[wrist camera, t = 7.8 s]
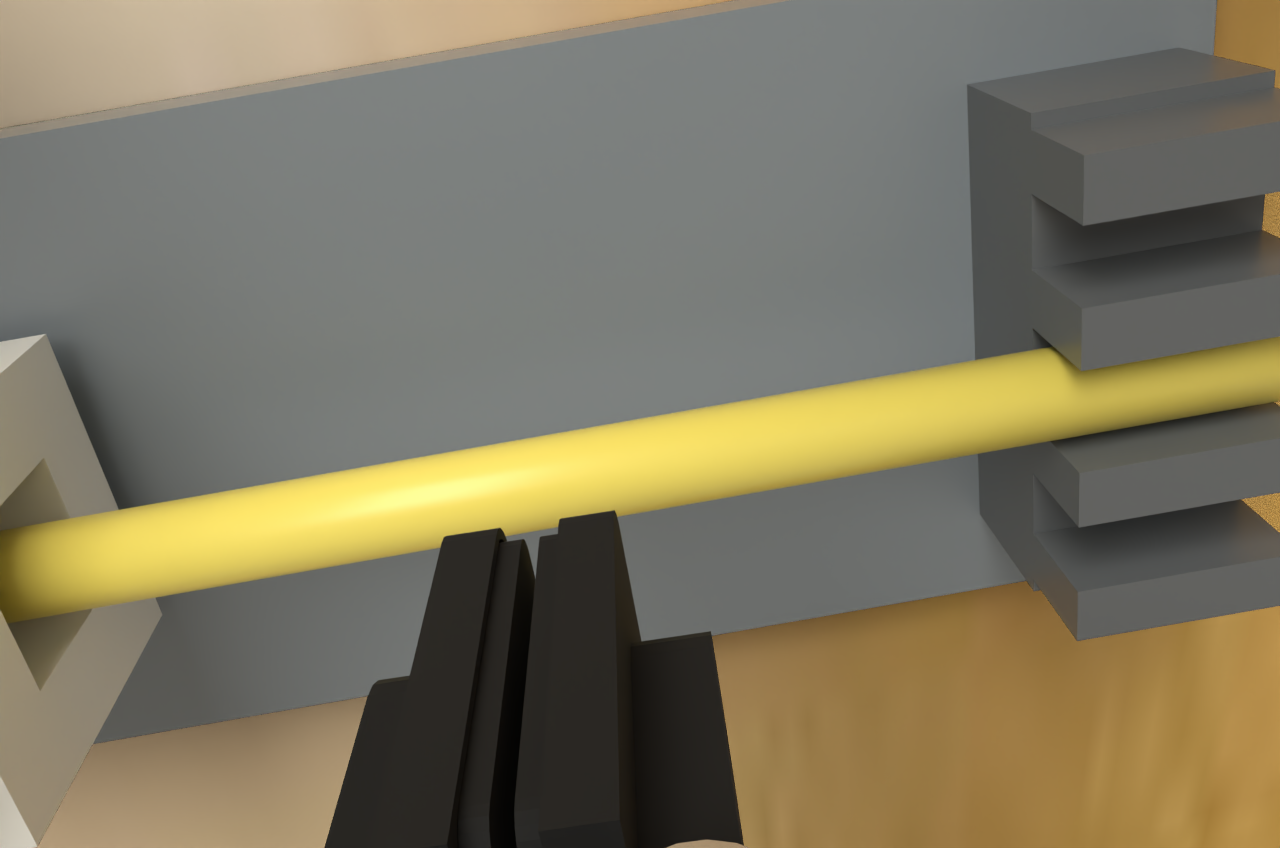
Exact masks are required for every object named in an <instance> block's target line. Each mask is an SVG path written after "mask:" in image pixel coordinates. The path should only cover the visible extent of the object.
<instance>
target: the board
mask: <svg viewBox="0 0 1280 848" xmlns="http://www.w3.org/2000/svg"><path fill="white" fill-rule="evenodd" d="M1216 7H1217V0H733V1H728V2H722V3H716V4H710V5H705V6H699V7H693V8H688V9H682V10H676V11H670V12H665V13H659V14H653V15H648V16H642V17H636V18H630V19H625V20H619V21H613V22H608V23H602V24H596V25H590V26H585V27H579V28H573V29H568V30H562V31H556V32H550V33H545V34H539V35H533V36H528V37H522V38H516V39H510V40H505V41H499V42H493V43H488V44H482V45H476V46H470V47H465V48H459V49H453V50H447V51H442V52H436V53H430V54H425V55H419V56H413V57H407V58H402V59H396V60H390V61H385V62H379V63H373V64H367V65H362V66H356V67H350V68H345V69H339V70H333V71H327V72H322V73H316V74H310V75H305V76H299V77H293V78H287V79H282V80H276V81H270V82H265V83H259V84H253V85H247V86H242V87H236V88H230V89H225V90H219V91H213V92H207V93H202V94H196V95H190V96H184V97H179V98H173V99H167V100H162V101H156V102H150V103H144V104H139V105H133V106H127V107H122V108H116V109H110V110H104V111H99V112H93V113H87V114H82V115H76V116H70V117H64V118H59V119H53V120H47V121H42V122H36V123H30V124H24V125H19V126H13V127H7V128H2V129H0V342H2V341H8V340H14V339H19V338H25V337H31V336H36V335H42V334H46V335H47V338H48V340H49V342H50V345H51V347H52V350H53V352H54V354H55V357H56V359H57V362H58V364H59V367H60V369H61V371H62V374H63V376H64V379H65V381H66V383H67V386H68V388H69V391H70V393H71V395H72V398H73V400H74V403H75V405H76V408H77V410H78V412H79V415H80V417H81V420H82V422H83V424H84V427H85V429H86V432H87V434H88V437H89V439H90V441H91V444H92V446H93V449H94V451H95V453H96V456H97V458H98V461H99V463H100V465H101V468H102V470H103V473H104V475H105V478H106V480H107V482H108V485H109V487H110V490H111V492H112V494H113V497H114V499H115V502H116V504H117V506H118V509H119V510H121V509H126V508H132V507H138V506H143V505H149V504H155V503H161V502H166V501H172V500H178V499H183V498H189V497H195V496H201V495H206V494H212V493H218V492H224V491H229V490H235V489H241V488H246V487H252V486H258V485H264V484H269V483H275V482H281V481H286V480H292V479H298V478H304V477H309V476H315V475H321V474H326V473H332V472H338V471H344V470H349V469H355V468H361V467H367V466H372V465H378V464H384V463H389V462H395V461H401V460H407V459H412V458H418V457H424V456H429V455H435V454H441V453H447V452H452V451H458V450H464V449H469V448H475V447H481V446H487V445H492V444H498V443H504V442H509V441H515V440H521V439H527V438H532V437H538V436H544V435H550V434H555V433H561V432H567V431H572V430H578V429H584V428H590V427H595V426H601V425H607V424H612V423H618V422H624V421H630V420H635V419H641V418H647V417H652V416H658V415H664V414H670V413H675V412H681V411H687V410H692V409H698V408H704V407H710V406H715V405H721V404H727V403H733V402H738V401H744V400H750V399H755V398H761V397H767V396H773V395H778V394H784V393H790V392H795V391H801V390H807V389H813V388H818V387H824V386H830V385H835V384H841V383H847V382H853V381H858V380H864V379H870V378H875V377H881V376H887V375H893V374H898V373H904V372H910V371H916V370H921V369H927V368H933V367H938V366H944V365H950V364H956V363H961V362H967V361H973V360H978V359H984V358H990V357H996V356H1001V355H1007V354H1013V353H1018V352H1024V351H1030V350H1036V349H1041V348H1047V347H1054V348H1056V349H1057V350H1058V351H1059V352H1060V353H1061V354H1062V355H1063V356H1065V357H1066V358H1067V359H1068V360H1069V361H1070V362H1071V363H1072V364H1074V365H1075V366H1076V367H1077V368H1078V369H1079V370H1080V371H1085V370H1091V369H1097V368H1102V367H1108V366H1114V365H1119V364H1125V363H1131V362H1137V361H1142V360H1148V359H1154V358H1159V357H1165V356H1171V355H1177V354H1182V353H1188V352H1194V351H1199V350H1205V349H1211V348H1217V347H1222V346H1228V345H1234V344H1240V343H1245V342H1251V341H1257V340H1262V339H1268V338H1274V337H1280V238H1278V237H1276V236H1274V235H1272V234H1270V233H1267V232H1265V231H1263V230H1262V223H1263V211H1264V199H1265V194H1268V193H1274V192H1280V89H1279V88H1275V87H1274V82H1275V71H1276V70H1272V69H1267V68H1263V67H1259V66H1255V65H1251V64H1247V63H1242V62H1238V61H1234V60H1230V59H1226V58H1221V57H1217V56H1213V55H1214V39H1215V23H1216ZM1274 493H1280V406H1279V405H1277V404H1276V403H1274V402H1271V403H1266V404H1260V405H1254V406H1248V407H1243V408H1237V409H1231V410H1226V411H1220V412H1214V413H1208V414H1203V415H1197V416H1191V417H1186V418H1180V419H1174V420H1168V421H1163V422H1157V423H1151V424H1146V425H1140V426H1134V427H1128V428H1123V429H1117V430H1111V431H1105V432H1100V433H1094V434H1088V435H1083V436H1077V437H1071V438H1065V439H1060V440H1054V441H1048V442H1043V443H1037V444H1031V445H1025V446H1020V447H1014V448H1008V449H1003V450H997V451H991V452H985V453H980V454H974V455H968V456H962V457H957V458H951V459H945V460H940V461H934V462H928V463H922V464H917V465H911V466H905V467H900V468H894V469H888V470H882V471H877V472H871V473H865V474H860V475H854V476H848V477H842V478H837V479H831V480H825V481H819V482H814V483H808V484H802V485H797V486H791V487H785V488H779V489H774V490H768V491H762V492H757V493H751V494H745V495H739V496H734V497H728V498H722V499H717V500H711V501H705V502H699V503H694V504H688V505H682V506H677V507H671V508H665V509H659V510H654V511H648V512H642V513H636V514H631V515H625V516H619V517H617V518H618V522H619V527H620V532H621V537H622V543H623V548H624V553H625V558H626V563H627V568H628V574H629V579H630V584H631V589H632V594H633V600H634V605H635V610H636V615H637V620H638V626H639V631H640V636H641V641H648V640H654V639H661V638H668V637H675V636H682V635H688V634H695V633H702V632H709V631H711V635H712V636H714V635H719V634H725V633H731V632H737V631H742V630H748V629H754V628H760V627H765V626H771V625H777V624H782V623H788V622H794V621H800V620H805V619H811V618H817V617H822V616H828V615H834V614H840V613H845V612H851V611H857V610H862V609H868V608H874V607H880V606H885V605H891V604H897V603H903V602H908V601H914V600H920V599H925V598H931V597H937V596H943V595H948V594H954V593H960V592H965V591H971V590H977V589H983V588H988V587H994V586H1000V585H1005V584H1011V583H1017V582H1023V581H1027V582H1028V584H1029V585H1030V586H1031V588H1032V589H1033V591H1038V590H1041V591H1042V592H1043V594H1044V595H1045V597H1046V598H1047V599H1048V601H1049V602H1050V604H1051V605H1052V606H1053V608H1054V609H1055V611H1056V612H1057V613H1058V615H1059V616H1060V618H1061V619H1062V620H1063V622H1064V623H1065V625H1066V626H1067V627H1068V629H1069V630H1070V632H1071V633H1072V634H1073V636H1074V637H1075V639H1076V640H1077V641H1080V640H1086V639H1092V638H1097V637H1103V636H1109V635H1115V634H1120V633H1126V632H1132V631H1138V630H1143V629H1149V628H1155V627H1160V626H1166V625H1172V624H1178V623H1183V622H1189V621H1195V620H1200V619H1206V618H1212V617H1218V616H1223V615H1229V614H1235V613H1240V612H1246V611H1252V610H1258V609H1263V608H1269V607H1275V606H1280V533H1279V532H1278V531H1276V530H1275V529H1274V528H1273V527H1272V526H1271V525H1270V524H1268V523H1267V522H1266V521H1265V520H1264V519H1263V518H1262V517H1260V516H1259V515H1258V514H1257V513H1256V512H1255V511H1253V510H1252V509H1251V508H1250V507H1249V506H1248V505H1247V504H1245V503H1244V502H1243V501H1242V500H1241V499H1245V498H1251V497H1257V496H1262V495H1268V494H1274ZM553 534H558V527H556V528H551V529H545V530H539V531H534V532H528V533H522V534H516V535H511V536H506V539H507V541H514V540H520V539H524V540H525V541H526V544H527V546H528V550H529V554H530V558H531V562H532V566H533V571H534V575H535V579H536V568H537V558H538V547H539V539H540V537H541V536H547V535H553ZM439 552H440V548H436V549H431V550H425V551H419V552H413V553H408V554H402V555H396V556H391V557H385V558H379V559H373V560H368V561H362V562H356V563H351V564H345V565H339V566H333V567H328V568H322V569H316V570H310V571H305V572H299V573H293V574H288V575H282V576H276V577H270V578H265V579H259V580H253V581H248V582H242V583H236V584H230V585H225V586H219V587H213V588H208V589H202V590H196V591H190V592H185V593H179V594H173V595H167V596H162V597H156V601H157V603H158V605H159V608H160V610H161V613H162V616H161V618H160V620H159V622H158V624H157V625H156V627H155V629H154V631H153V633H152V635H151V637H150V639H149V640H148V642H147V644H146V646H145V648H144V650H143V652H142V653H141V655H140V657H139V659H138V661H137V663H136V665H135V666H134V668H133V670H132V672H131V674H130V676H129V678H128V679H127V681H126V683H125V685H124V687H123V689H122V691H121V692H120V694H119V696H118V698H117V700H116V702H115V704H114V706H113V707H112V709H111V711H110V713H109V715H108V717H107V719H106V720H105V722H104V724H103V726H102V728H101V730H100V732H99V733H98V735H97V737H96V739H95V741H94V743H93V744H96V743H102V742H107V741H113V740H119V739H125V738H130V737H136V736H142V735H147V734H153V733H159V732H165V731H170V730H176V729H182V728H188V727H193V726H199V725H205V724H210V723H216V722H222V721H228V720H233V719H239V718H245V717H250V716H256V715H262V714H268V713H273V712H279V711H285V710H290V709H296V708H302V707H308V706H313V705H319V704H325V703H331V702H336V701H342V700H348V699H353V698H359V697H365V696H368V695H369V692H370V690H371V688H372V685H373V684H374V683H376V682H377V681H378V680H383V679H390V678H396V677H403V676H410V672H411V668H412V664H413V660H414V656H415V652H416V647H417V643H418V639H419V635H420V631H421V627H422V622H423V618H424V614H425V610H426V606H427V602H428V597H429V593H430V589H431V585H432V581H433V577H434V573H435V568H436V564H437V560H438V556H439Z"/></svg>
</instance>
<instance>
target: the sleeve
mask: <svg viewBox="0 0 1280 848" xmlns="http://www.w3.org/2000/svg"><path fill="white" fill-rule="evenodd" d="M115 510H119V509H118V506H117V504H116V502H115V499H114V497H113V494H112V492H111V490H110V487H109V485H108V482H107V480H106V478H105V475H104V473H103V470H102V468H101V465H100V463H99V461H98V458H97V456H96V453H95V451H94V449H93V446H92V444H91V441H90V439H89V437H88V434H87V432H86V429H85V427H84V424H83V422H82V420H81V417H80V415H79V412H78V410H77V408H76V405H75V403H74V400H73V398H72V395H71V393H70V391H69V388H68V386H67V383H66V381H65V379H64V376H63V374H62V371H61V369H60V367H59V364H58V362H57V359H56V357H55V354H54V352H53V350H52V347H51V345H50V342H49V340H48V338H47V335H46V334H42V335H36V336H31V337H25V338H19V339H14V340H8V341H2V342H0V530H6V529H12V528H18V527H23V526H29V525H35V524H41V523H46V522H52V521H58V520H63V519H69V518H75V517H81V516H86V515H92V514H98V513H103V512H109V511H115ZM161 616H162V613H161V610H160V608H159V605H158V603H157V601H156V598H150V599H145V600H139V601H133V602H127V603H122V604H116V605H110V606H105V607H99V608H93V609H87V610H82V611H76V612H70V613H65V614H59V615H53V616H47V617H42V618H36V619H30V620H24V621H19V622H13V623H7V622H6V620H5V618H4V616H3V614H2V612H1V610H0V848H33V847H38V845H39V843H40V841H41V840H42V838H43V836H44V834H45V832H46V830H47V828H48V826H49V825H50V823H51V821H52V819H53V817H54V815H55V813H56V812H57V810H58V808H59V806H60V804H61V802H62V800H63V799H64V797H65V795H66V793H67V791H68V789H69V787H70V786H71V784H72V782H73V780H74V778H75V776H76V774H77V773H78V771H79V769H80V767H81V765H82V763H83V761H84V759H85V758H86V756H87V754H88V752H89V750H90V748H91V746H92V745H93V743H94V741H95V739H96V737H97V735H98V733H99V732H100V730H101V728H102V726H103V724H104V722H105V720H106V719H107V717H108V715H109V713H110V711H111V709H112V707H113V706H114V704H115V702H116V700H117V698H118V696H119V694H120V692H121V691H122V689H123V687H124V685H125V683H126V681H127V679H128V678H129V676H130V674H131V672H132V670H133V668H134V666H135V665H136V663H137V661H138V659H139V657H140V655H141V653H142V652H143V650H144V648H145V646H146V644H147V642H148V640H149V639H150V637H151V635H152V633H153V631H154V629H155V627H156V625H157V624H158V622H159V620H160V618H161Z"/></svg>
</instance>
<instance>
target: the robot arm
mask: <svg viewBox="0 0 1280 848" xmlns="http://www.w3.org/2000/svg"><path fill="white" fill-rule="evenodd" d="M325 848H748V847H746V846H744V843H743V836H742V830H741V823H740V816H739V809H738V803H737V796H736V789H735V782H734V776H733V769H732V763H731V756H730V749H729V743H728V736H727V730H726V723H725V717H724V710H723V704H722V698H721V691H720V685H719V679H718V672H717V666H716V660H715V653H714V647H713V641H712V635H711V631H709V632H702V633H695V634H688V635H682V636H675V637H668V638H661V639H654V640H648V641H641V636H640V631H639V626H638V620H637V615H636V610H635V605H634V600H633V594H632V589H631V584H630V579H629V574H628V568H627V563H626V558H625V553H624V548H623V543H622V537H621V532H620V527H619V522H618V518H617V515H616V512H615V510H613V511H607V512H600V513H594V514H587V515H581V516H574V517H567V518H561V519H559V524H558V534H553V535H547V536H541V537H540V539H539V547H538V558H537V568H536V579H535V575H534V571H533V566H532V562H531V558H530V554H529V550H528V546H527V544H526V541H525V540H524V539H520V540H514V541H507V539H506V536H505V534H504V532H503V530H502V529H501V528H495V529H489V530H482V531H475V532H469V533H462V534H456V535H449V536H445V537H444V538H443V541H442V543H441V548H440V552H439V556H438V560H437V564H436V568H435V573H434V577H433V581H432V585H431V589H430V593H429V597H428V602H427V606H426V610H425V614H424V618H423V622H422V627H421V631H420V635H419V639H418V643H417V647H416V652H415V656H414V660H413V664H412V668H411V672H410V676H403V677H396V678H390V679H383V680H378V681H377V682H376V683H374V684H373V685H372V688H371V690H370V692H369V695H368V698H367V701H366V705H365V708H364V712H363V715H362V718H361V722H360V725H359V729H358V732H357V736H356V739H355V743H354V746H353V750H352V753H351V757H350V760H349V764H348V767H347V771H346V774H345V778H344V781H343V785H342V788H341V792H340V795H339V799H338V802H337V806H336V809H335V813H334V816H333V820H332V823H331V827H330V830H329V834H328V837H327V841H326V844H325Z"/></svg>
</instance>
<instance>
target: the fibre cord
mask: <svg viewBox="0 0 1280 848" xmlns="http://www.w3.org/2000/svg"><path fill="white" fill-rule="evenodd" d="M1277 401H1280V337H1274V338H1268V339H1262V340H1257V341H1251V342H1245V343H1240V344H1234V345H1228V346H1222V347H1217V348H1211V349H1205V350H1199V351H1194V352H1188V353H1182V354H1177V355H1171V356H1165V357H1159V358H1154V359H1148V360H1142V361H1137V362H1131V363H1125V364H1119V365H1114V366H1108V367H1102V368H1097V369H1091V370H1085V371H1080V370H1079V369H1078V368H1077V367H1076V366H1075V365H1074V364H1072V363H1071V362H1070V361H1069V360H1068V359H1067V358H1066V357H1065V356H1063V355H1062V354H1061V353H1060V352H1059V351H1058V350H1057V349H1056V348H1054V347H1047V348H1041V349H1036V350H1030V351H1024V352H1018V353H1013V354H1007V355H1001V356H996V357H990V358H984V359H978V360H973V361H967V362H961V363H956V364H950V365H944V366H938V367H933V368H927V369H921V370H916V371H910V372H904V373H898V374H893V375H887V376H881V377H875V378H870V379H864V380H858V381H853V382H847V383H841V384H835V385H830V386H824V387H818V388H813V389H807V390H801V391H795V392H790V393H784V394H778V395H773V396H767V397H761V398H755V399H750V400H744V401H738V402H733V403H727V404H721V405H715V406H710V407H704V408H698V409H692V410H687V411H681V412H675V413H670V414H664V415H658V416H652V417H647V418H641V419H635V420H630V421H624V422H618V423H612V424H607V425H601V426H595V427H590V428H584V429H578V430H572V431H567V432H561V433H555V434H550V435H544V436H538V437H532V438H527V439H521V440H515V441H509V442H504V443H498V444H492V445H487V446H481V447H475V448H469V449H464V450H458V451H452V452H447V453H441V454H435V455H429V456H424V457H418V458H412V459H407V460H401V461H395V462H389V463H384V464H378V465H372V466H367V467H361V468H355V469H349V470H344V471H338V472H332V473H326V474H321V475H315V476H309V477H304V478H298V479H292V480H286V481H281V482H275V483H269V484H264V485H258V486H252V487H246V488H241V489H235V490H229V491H224V492H218V493H212V494H206V495H201V496H195V497H189V498H183V499H178V500H172V501H166V502H161V503H155V504H149V505H143V506H138V507H132V508H126V509H121V510H115V511H109V512H103V513H98V514H92V515H86V516H81V517H75V518H69V519H63V520H58V521H52V522H46V523H41V524H35V525H29V526H23V527H18V528H12V529H6V530H0V610H1V612H2V614H3V616H4V618H5V620H6V622H7V623H13V622H19V621H24V620H30V619H36V618H42V617H47V616H53V615H59V614H65V613H70V612H76V611H82V610H87V609H93V608H99V607H105V606H110V605H116V604H122V603H127V602H133V601H139V600H145V599H150V598H156V597H162V596H167V595H173V594H179V593H185V592H190V591H196V590H202V589H208V588H213V587H219V586H225V585H230V584H236V583H242V582H248V581H253V580H259V579H265V578H270V577H276V576H282V575H288V574H293V573H299V572H305V571H310V570H316V569H322V568H328V567H333V566H339V565H345V564H351V563H356V562H362V561H368V560H373V559H379V558H385V557H391V556H396V555H402V554H408V553H413V552H419V551H425V550H431V549H436V548H441V543H442V541H443V538H444V537H445V536H449V535H456V534H462V533H469V532H475V531H482V530H489V529H495V528H501V529H502V530H503V532H504V534H505V536H511V535H516V534H522V533H528V532H534V531H539V530H545V529H551V528H556V527H558V524H559V519H561V518H567V517H574V516H581V515H587V514H594V513H600V512H607V511H613V510H615V512H616V515H617V517H619V516H625V515H631V514H636V513H642V512H648V511H654V510H659V509H665V508H671V507H677V506H682V505H688V504H694V503H699V502H705V501H711V500H717V499H722V498H728V497H734V496H739V495H745V494H751V493H757V492H762V491H768V490H774V489H779V488H785V487H791V486H797V485H802V484H808V483H814V482H819V481H825V480H831V479H837V478H842V477H848V476H854V475H860V474H865V473H871V472H877V471H882V470H888V469H894V468H900V467H905V466H911V465H917V464H922V463H928V462H934V461H940V460H945V459H951V458H957V457H962V456H968V455H974V454H980V453H985V452H991V451H997V450H1003V449H1008V448H1014V447H1020V446H1025V445H1031V444H1037V443H1043V442H1048V441H1054V440H1060V439H1065V438H1071V437H1077V436H1083V435H1088V434H1094V433H1100V432H1105V431H1111V430H1117V429H1123V428H1128V427H1134V426H1140V425H1146V424H1151V423H1157V422H1163V421H1168V420H1174V419H1180V418H1186V417H1191V416H1197V415H1203V414H1208V413H1214V412H1220V411H1226V410H1231V409H1237V408H1243V407H1248V406H1254V405H1260V404H1266V403H1271V402H1277Z"/></svg>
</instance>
